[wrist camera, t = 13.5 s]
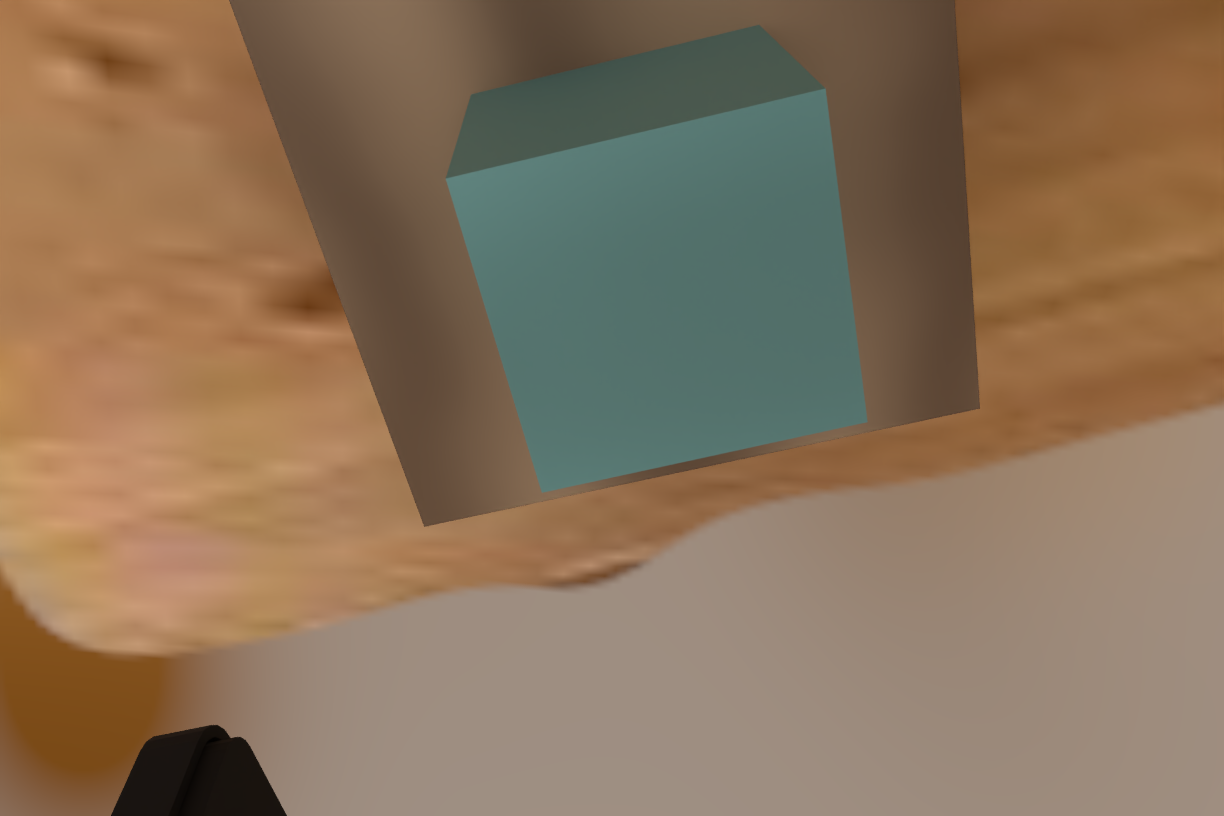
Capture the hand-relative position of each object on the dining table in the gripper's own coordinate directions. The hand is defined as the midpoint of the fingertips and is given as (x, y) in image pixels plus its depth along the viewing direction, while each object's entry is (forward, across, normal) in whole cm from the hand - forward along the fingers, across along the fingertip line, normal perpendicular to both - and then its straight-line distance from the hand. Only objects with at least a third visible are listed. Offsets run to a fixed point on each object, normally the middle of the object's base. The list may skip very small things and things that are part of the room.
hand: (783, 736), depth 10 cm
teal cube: (+16, 0, 0) cm, 16 cm away
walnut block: (+21, 0, 0) cm, 21 cm away
